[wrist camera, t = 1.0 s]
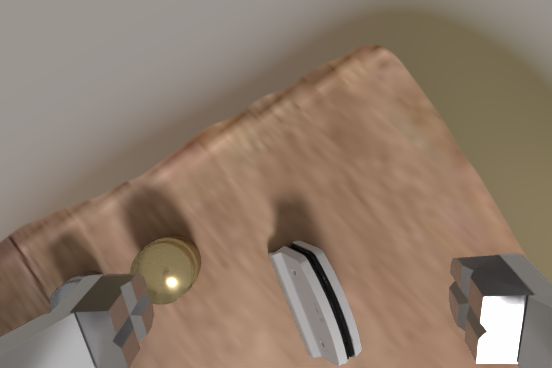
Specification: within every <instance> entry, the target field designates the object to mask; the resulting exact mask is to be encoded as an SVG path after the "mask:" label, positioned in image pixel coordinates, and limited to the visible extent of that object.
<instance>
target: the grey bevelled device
mask: <svg viewBox="0 0 552 368" xmlns="http://www.w3.org/2000/svg"><path fill="white" fill-rule="evenodd" d="M292 243H293V244H292V245H291V247H292V248H290V247H286V246H283V247H282V248H280V249H279V250H278V251H276V252H275V253H272V252H271V253H269V254H268V255H269V257H270V260H271V262H272V265H273V267H274V270H275V272H276V275H277V278H278V280H279V283H280V285H281V288H282V290H283V293H284V295H285V298H286V300H287V303H288V305H289V308H290V310H291V313H292V315H293V318H294V320H295V323H296V325H297V328H298V330H299V333H300V335H301V338H302V340H303V343H304V345H305V348H306V350H307V353H308V354H309V355H310V356H311V357H312V358H317V357H324V358H325V359H327V360H329V361H331V362H332V363H334V364H336V365H338V366H339V365H342V364H344V363H347V359H349V357H356V356H357V355H358V354H359V353H360V352H361V350H362V348H361V343H360V338H359V334H358V331H357V327H356V324H355V321H354V318H353V315H352V312H351V309H350V307H349V304H348V301H347V299H346V296H345V294H344V292H343V290H342V287H341V285H340V283H339V281H338V279H337V277H336V274H335V272H334V270H333V268H332V267H331V265H330V263H329V261H328V259H327V257H326V256H325V254H324V252H323V251H322V250H321V249H320V248H317V247H315V246H312V245H310V244H308V243H305V242H303V241H300V240H299V241H294V242H292Z"/></svg>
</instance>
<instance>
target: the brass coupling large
mask: <svg viewBox="0 0 552 368" xmlns="http://www.w3.org/2000/svg"><path fill="white" fill-rule="evenodd" d="M200 267H201V255H200V252H199V250H198V248H197V246H196V245H195V244H194V243H193V242H192V241H191V240H189V239H188V238H186V237H183V236H179V235H170V236H166V237H161V238H158V239H156V240H154V241H153V242H151V243H149V244H148V245H147V246H146V247H144V249H143V250H142V251H141V252H140V253H139V254H138V255H137V256H136V257H135V259H134V261H133V263H132V265H131V270H130V274H135V273H140V274H141V275H143V276H144V278H145V281H146V284H147V288H146V290H145V292H144V294H145V295H146V296H148V297H149V298H150V299H151V301H152V303H153V304H168V303H171V302H174V301H176V300H177V299H179V298H180V297H181V296H182V295H183V294H185V293H186V292H187V291H188V290H189V289H190V288H191V287H192V285H193V284H194V282H195V281H196V279H197V277H198V274H199V270H200Z"/></svg>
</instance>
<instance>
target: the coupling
mask: <svg viewBox="0 0 552 368" xmlns="http://www.w3.org/2000/svg"><path fill="white" fill-rule="evenodd" d="M89 275H101V274H99V273H97V272H87V273H84V274H82V275H77V276H74V277H72V278H71V279H69V280H67V281H66V282H65V283H64V284H63V285H62V286H61V287H59V288H57V289H56V290H55V291H54V292H53V294H52V296H51V299H50V308H51V311H52V310H53V309H54V308H55V307H56V306H57V305H58V304H59V303H60V302H61V301H62V300H63V299H64V298H65V297H66V296H67V295H68V294H69V293H70V292H71V290H72V289H73V288H74V287H75V286H76V285H77V284H78V283H79V282H80V281H81V280H82V279H83V278H84V277H86V276H89Z"/></svg>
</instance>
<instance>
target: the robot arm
mask: <svg viewBox="0 0 552 368" xmlns="http://www.w3.org/2000/svg"><path fill="white" fill-rule="evenodd" d="M450 273H451V274H452V276H453V278H454V280H455V282H454V283H453V284H452V285H451V286H450V287H449V302H450V309H451V312H452V315H453V318H454V320H455V322H456V324H457V326H458V327H460V328H461V329H463V330H464V331H465V342H466V344H467V346H468V347H469V349H470V351H471V353H472V355H473V357H474V359H475V361H476V363H518V366H519V367H520V368H552V283H551V282H550V281H548V279H547V278H545V277H544V276H543V275H542V274H541V273H540V272H539V271H538V270H537V269H536V268H535V267H534V266H533V265H532V264H531V263H530V262H529V261H528V260H527V259H526V258H525V257H524V256H523V255H522V254H519V253H511V254H499V255H490V256H476V257H461V258H453V259H452V262H451V270H450ZM146 288H147V284H146V281H145V278H144V276H143V275H141V274H140V273H135V274H106V275H104V274H101V275H89V276H86V277H84V278H83V279H82V280H81V281H80V282H79V283H78V284H77V285H76V286H75V287H74V288H73V289H72V290H71V292H70V293H69V294H68V295H67V296H66V297H65V298H64V299H63V300H62V301H61V302H60V303H59V304H58V305H57V306H56V307H55V308H54V309H53V310H52V311H51V312H50V313H49V314H43V315H41V316H39V317H37V318H35V319H33V320H31V321H30V322H28V323H26V324H24V325H22V326H20V327H18V328H16V329H14V330H12V331H11V332H9V333H7V334H5V335H3V336H1V337H0V368H129V367H130V365H131V364H132V362H133V360H134V358H135V356H136V355H137V353H138V351H139V349H140V346H139V343H138V341H140V340H141V339H143V338H144V337H145V336H147V334H148V333H149V331H150V329H151V327H152V322H153V317H154V312H153V305H152V301H151V299H150V298H149V297H148V296H146V295H145V294H144V292H145V290H146Z"/></svg>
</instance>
